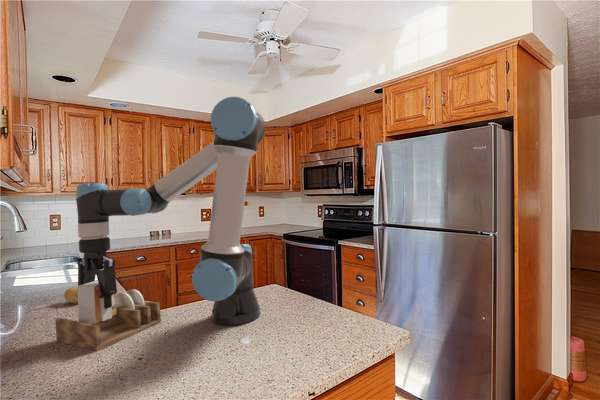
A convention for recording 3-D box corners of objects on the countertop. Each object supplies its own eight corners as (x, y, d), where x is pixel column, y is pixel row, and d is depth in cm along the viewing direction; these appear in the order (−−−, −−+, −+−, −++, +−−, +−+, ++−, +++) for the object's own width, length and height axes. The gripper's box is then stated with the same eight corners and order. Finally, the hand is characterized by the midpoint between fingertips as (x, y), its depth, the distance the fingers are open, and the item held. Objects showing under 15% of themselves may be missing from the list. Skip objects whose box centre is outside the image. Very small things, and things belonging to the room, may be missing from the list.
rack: (160, 322, 102) (159, 289, 101) (97, 351, 84) (95, 311, 83) (122, 315, 109) (120, 285, 109) (56, 340, 91) (54, 304, 91)
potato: (76, 307, 121) (75, 290, 121) (59, 304, 126) (58, 288, 126) (94, 301, 127) (93, 285, 127) (77, 298, 132) (76, 283, 132)
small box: (95, 324, 89) (93, 286, 89) (78, 323, 90) (76, 285, 90) (117, 313, 97) (115, 278, 96) (101, 313, 98) (99, 278, 98)
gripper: (129, 236, 92) (133, 317, 92) (86, 235, 100) (90, 309, 101) (103, 240, 85) (107, 327, 86) (60, 238, 94) (64, 318, 94)
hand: (98, 317), depth 93 cm, fingers closed on small box, 6 cm apart
